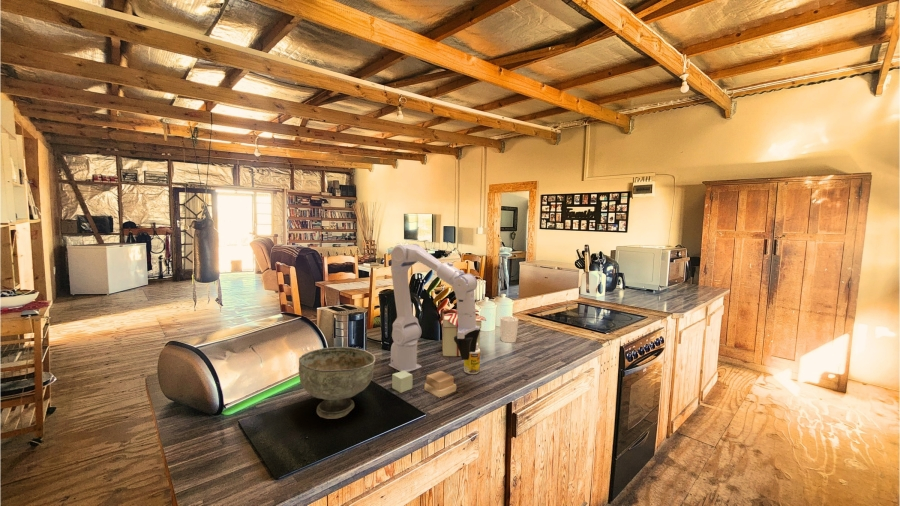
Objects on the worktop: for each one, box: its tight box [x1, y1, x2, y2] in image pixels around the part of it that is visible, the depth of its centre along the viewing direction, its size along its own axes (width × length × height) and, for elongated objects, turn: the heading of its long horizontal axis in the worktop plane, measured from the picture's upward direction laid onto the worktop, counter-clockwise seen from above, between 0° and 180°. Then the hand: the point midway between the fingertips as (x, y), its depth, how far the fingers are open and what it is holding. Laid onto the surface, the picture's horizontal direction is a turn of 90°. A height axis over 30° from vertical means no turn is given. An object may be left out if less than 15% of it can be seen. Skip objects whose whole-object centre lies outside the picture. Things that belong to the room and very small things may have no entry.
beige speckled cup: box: [499, 315, 519, 344], centre depth 165 cm, size 8×8×10 cm
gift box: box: [441, 308, 487, 357], centre depth 149 cm, size 17×18×17 cm
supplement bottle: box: [463, 343, 481, 375], centre depth 130 cm, size 6×6×10 cm
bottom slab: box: [424, 382, 457, 398], centre depth 115 cm, size 7×7×2 cm
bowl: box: [298, 346, 376, 420], centre depth 102 cm, size 20×19×15 cm
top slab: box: [425, 370, 455, 390], centre depth 115 cm, size 6×6×2 cm
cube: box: [391, 371, 414, 394], centre depth 116 cm, size 4×4×4 cm
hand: (468, 355), depth 117 cm, fingers open, 7 cm apart
